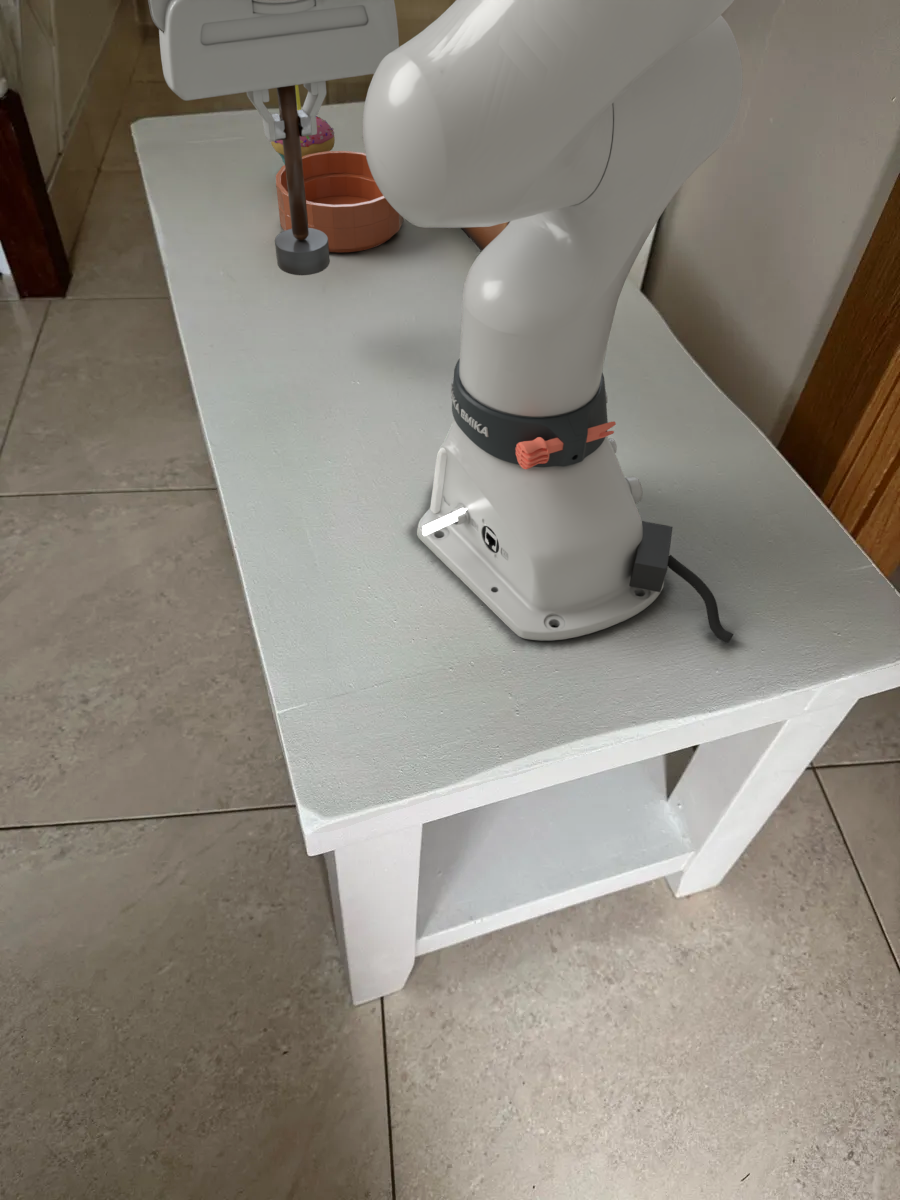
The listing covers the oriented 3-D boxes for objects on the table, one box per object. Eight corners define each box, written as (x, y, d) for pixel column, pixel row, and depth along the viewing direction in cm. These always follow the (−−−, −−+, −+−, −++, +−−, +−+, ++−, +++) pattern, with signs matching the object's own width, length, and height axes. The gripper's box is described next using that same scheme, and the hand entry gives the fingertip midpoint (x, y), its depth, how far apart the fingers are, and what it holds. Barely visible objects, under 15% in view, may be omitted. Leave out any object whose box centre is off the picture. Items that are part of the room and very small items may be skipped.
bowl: (422, 241, 115) (422, 193, 110) (305, 265, 110) (301, 216, 106) (374, 189, 124) (373, 143, 119) (265, 209, 119) (259, 162, 115)
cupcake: (267, 163, 128) (256, 68, 119) (326, 154, 131) (320, 60, 122) (284, 190, 123) (274, 92, 114) (345, 180, 125) (340, 84, 116)
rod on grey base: (337, 269, 92) (323, 75, 79) (287, 279, 91) (264, 84, 78) (319, 246, 95) (302, 56, 82) (270, 255, 94) (245, 63, 81)
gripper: (151, -22, 69) (186, 168, 79) (405, -48, 75) (407, 132, 85) (132, -44, 73) (168, 141, 83) (375, -66, 79) (380, 107, 89)
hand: (291, 136), depth 84 cm, fingers closed on rod on grey base
